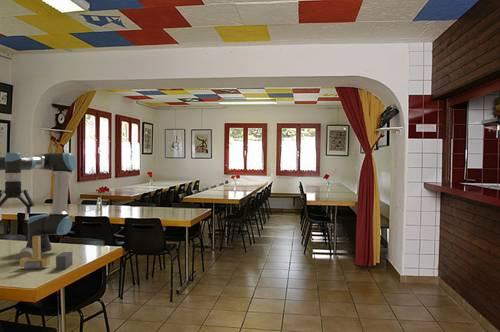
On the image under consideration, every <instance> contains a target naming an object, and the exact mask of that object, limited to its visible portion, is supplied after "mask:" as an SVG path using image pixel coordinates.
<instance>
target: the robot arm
mask: <svg viewBox="0 0 500 332" xmlns="http://www.w3.org/2000/svg"><path fill="white" fill-rule="evenodd" d="M33 169H34V170H45V171H46V170H47V171H52V173H53V174H54V185H53V187H54V188H53V196H52V197H53V198H52V210H51V212H50V213H49V214H47V213H46V214H45V213H44V214H39V215H38V214H37V215H32V216H30V215H29V214H31V207H34V206H35V204H34V201H33V199H32V197H31V196H30V194H29V192H28V191H29V189H22V181H21V180H22V171H31V170H33ZM76 169H77V159H76V156H75V155H74V154H73V153H71V152H47V153H43V154H34V155H32V156H30V155H29V156H22V154H21V153H20V152H6V153H5V155H4V156H0V171H4V181H5V183H4V190H3V189H0V221H2V216H3V215H2V212H3V211H2V206H3V204H5V202H6V201H8V199H18V200H19V201H20V202H21V203H22V204H23V205H24V206H25V208H24V214H25V215H24V220H25V221H27V242H26V244H25V248H26V247H29V248H32V237H34V236H41V253H44V252H49V251H50V250H51V251H52V244H51V242H50V239H49V236H51V235H54V236H55V235H57V236H60V235H66V234H69V232H70V231H71V228H72V226H73V220H72V219H73V218H72V217H71V216H70V213H69V212H68V198H69V186H70V185H69V184H70V175H72V174H73V171H75V170H76ZM4 194H5V196H4V197H3V195H4ZM22 194H23V196H24V197H23V196H22ZM2 197H3V198H2ZM29 216H30V217H29Z"/></svg>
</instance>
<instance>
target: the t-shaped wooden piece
mask: <svg viewBox="0 0 500 332" xmlns="http://www.w3.org/2000/svg"><path fill="white" fill-rule="evenodd" d="M32 249H33V258H22V259H20V260H19V267H20V268H24V263H25V262H41V266H45V267H47V266H48V267H49V266H50V265H51V258H50V256H42V252H41V236H34V237H32Z"/></svg>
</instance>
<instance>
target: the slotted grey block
mask: <svg viewBox="0 0 500 332" xmlns="http://www.w3.org/2000/svg"><path fill="white" fill-rule="evenodd" d="M72 266H73V251H62V252H61V253H59V254H58V255H56V256H55V270H58V271H60V270H61V271H62V270H67V269H69V268H70V267H72Z"/></svg>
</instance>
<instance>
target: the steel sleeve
mask: <svg viewBox="0 0 500 332" xmlns="http://www.w3.org/2000/svg"><path fill="white" fill-rule="evenodd" d="M45 267H46V266H41V262H25V263H24V267H23V270H24V271H39V270H42V269H43V268H45Z"/></svg>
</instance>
